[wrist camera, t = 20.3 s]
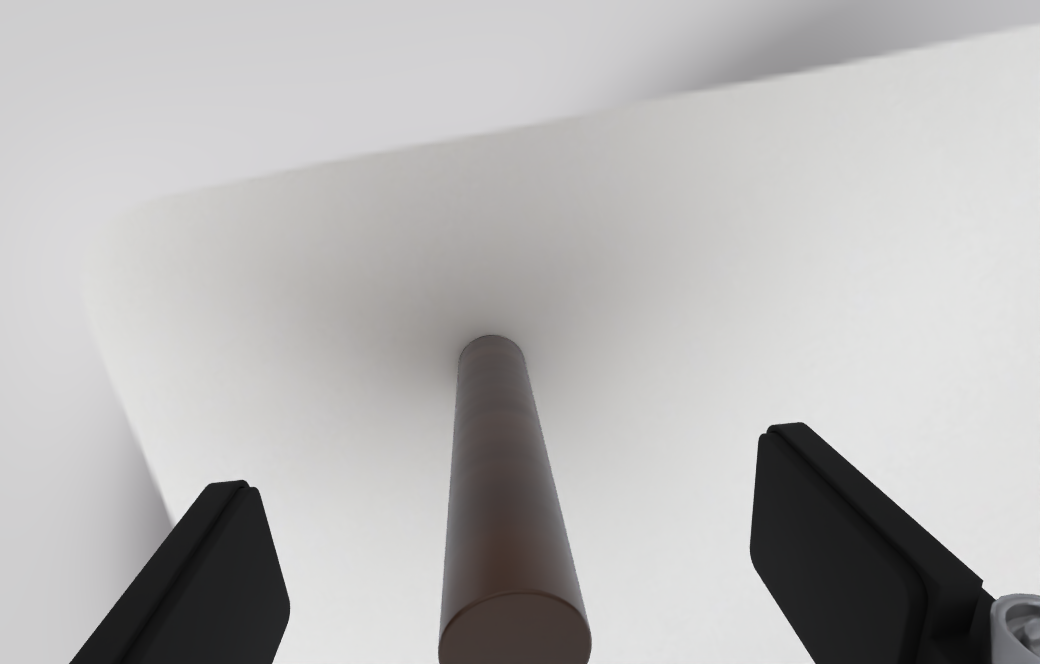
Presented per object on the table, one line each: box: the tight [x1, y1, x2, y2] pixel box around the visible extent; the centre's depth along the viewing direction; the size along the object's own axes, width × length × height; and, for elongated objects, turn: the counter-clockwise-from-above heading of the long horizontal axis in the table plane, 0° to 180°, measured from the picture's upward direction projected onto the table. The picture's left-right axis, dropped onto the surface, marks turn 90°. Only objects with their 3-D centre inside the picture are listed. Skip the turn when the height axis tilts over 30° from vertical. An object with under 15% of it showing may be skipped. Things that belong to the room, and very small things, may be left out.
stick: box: [438, 335, 592, 664], centre depth 14 cm, size 2×2×12 cm
